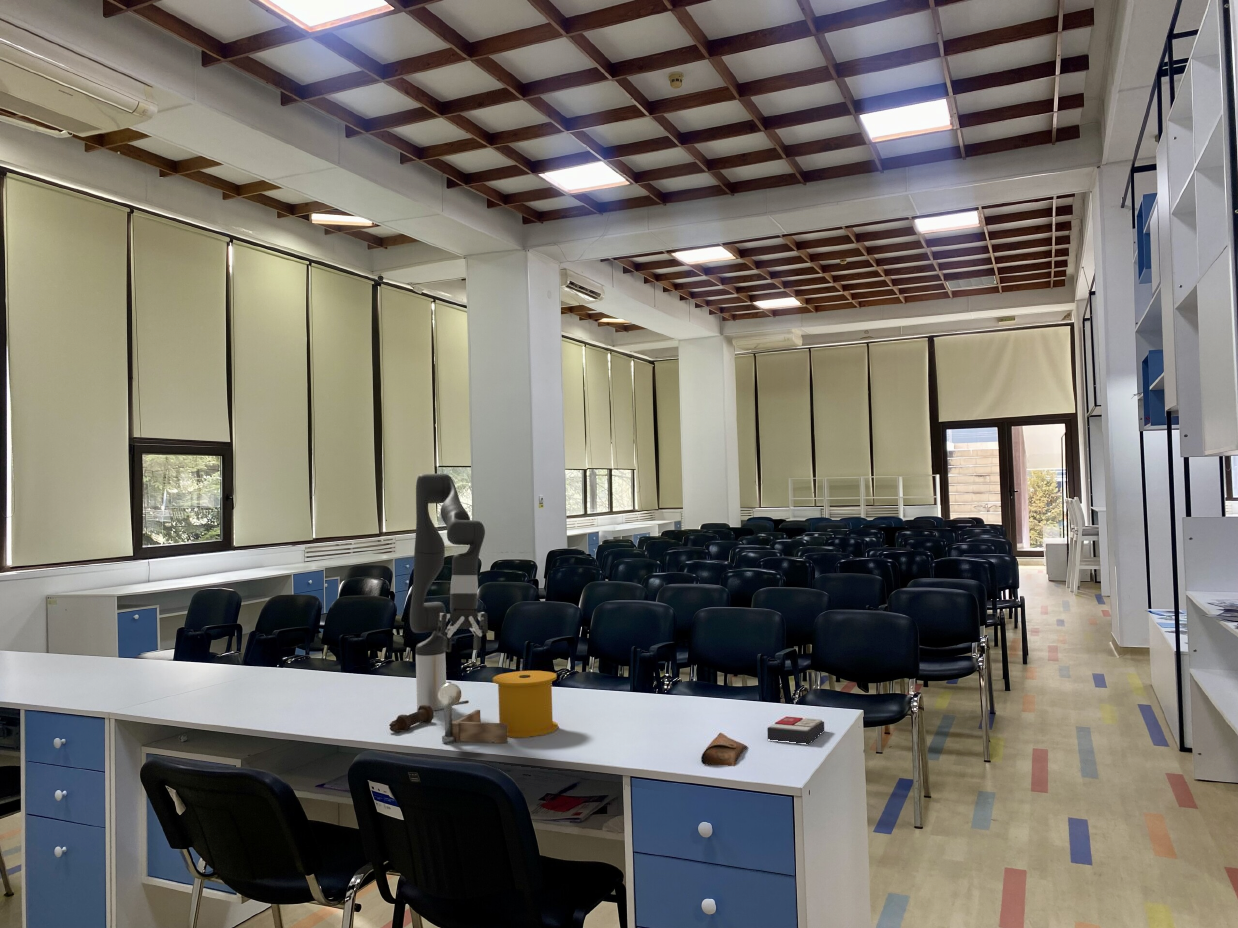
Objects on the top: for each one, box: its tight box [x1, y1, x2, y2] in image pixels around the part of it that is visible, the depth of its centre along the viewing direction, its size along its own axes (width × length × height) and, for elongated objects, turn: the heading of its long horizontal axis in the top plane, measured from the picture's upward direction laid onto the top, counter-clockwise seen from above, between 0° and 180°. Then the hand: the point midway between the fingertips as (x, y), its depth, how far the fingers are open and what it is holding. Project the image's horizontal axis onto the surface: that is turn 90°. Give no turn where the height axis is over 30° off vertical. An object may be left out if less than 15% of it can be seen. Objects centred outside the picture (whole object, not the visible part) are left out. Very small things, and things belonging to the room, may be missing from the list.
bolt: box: [388, 705, 435, 733], centre depth 259 cm, size 6×5×15 cm
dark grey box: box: [766, 716, 825, 745], centre depth 236 cm, size 11×4×15 cm
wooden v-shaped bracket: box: [452, 709, 509, 744], centre depth 245 cm, size 12×22×5 cm, turn 30°
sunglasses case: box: [700, 732, 748, 767], centre depth 221 cm, size 18×7×7 cm
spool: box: [492, 670, 559, 738], centre depth 253 cm, size 18×18×15 cm
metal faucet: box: [438, 681, 470, 744], centre depth 242 cm, size 9×4×16 cm, turn 120°
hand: (462, 650), depth 247 cm, fingers open, 8 cm apart
